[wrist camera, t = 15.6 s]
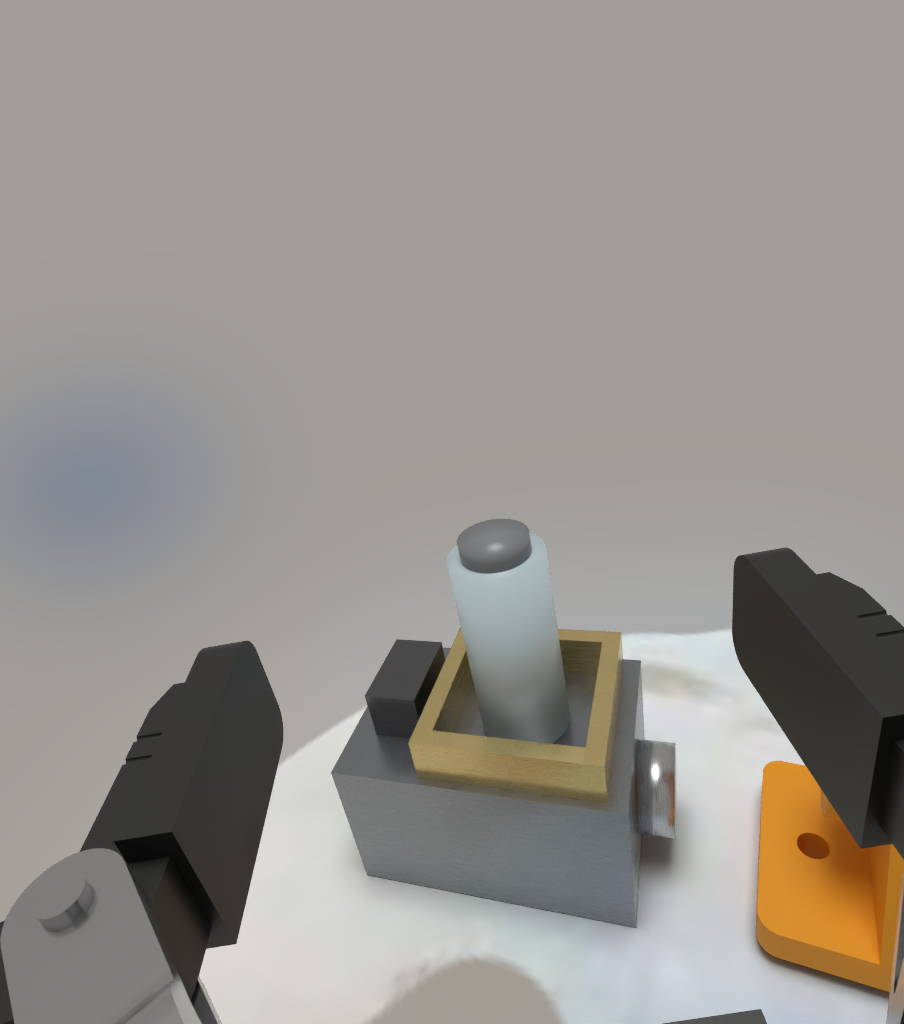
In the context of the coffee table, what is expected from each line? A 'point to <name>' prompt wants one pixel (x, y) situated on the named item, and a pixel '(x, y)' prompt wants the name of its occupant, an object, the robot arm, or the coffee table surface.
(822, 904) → the bracket
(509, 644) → the bottle
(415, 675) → the grey block with frame
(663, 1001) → the coffee table surface
